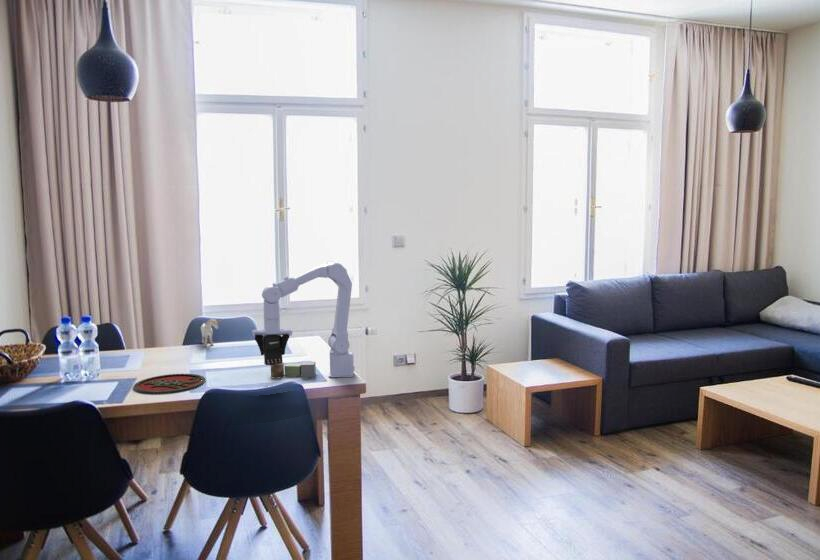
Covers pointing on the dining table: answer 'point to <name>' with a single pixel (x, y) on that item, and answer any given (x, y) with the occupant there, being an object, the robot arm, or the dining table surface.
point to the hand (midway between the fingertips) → (273, 354)
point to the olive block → (293, 369)
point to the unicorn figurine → (208, 330)
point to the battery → (272, 349)
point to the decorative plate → (169, 383)
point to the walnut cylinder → (277, 370)
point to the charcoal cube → (308, 369)
